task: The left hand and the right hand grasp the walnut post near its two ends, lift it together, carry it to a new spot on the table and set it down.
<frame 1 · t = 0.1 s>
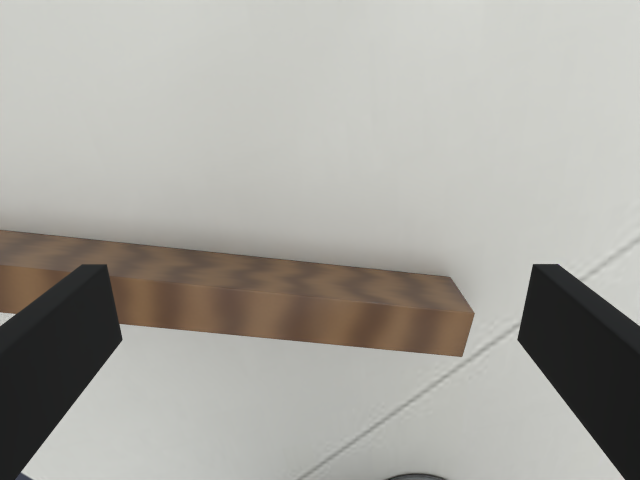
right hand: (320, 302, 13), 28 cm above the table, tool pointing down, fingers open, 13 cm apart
post: (200, 271, 43), on the table
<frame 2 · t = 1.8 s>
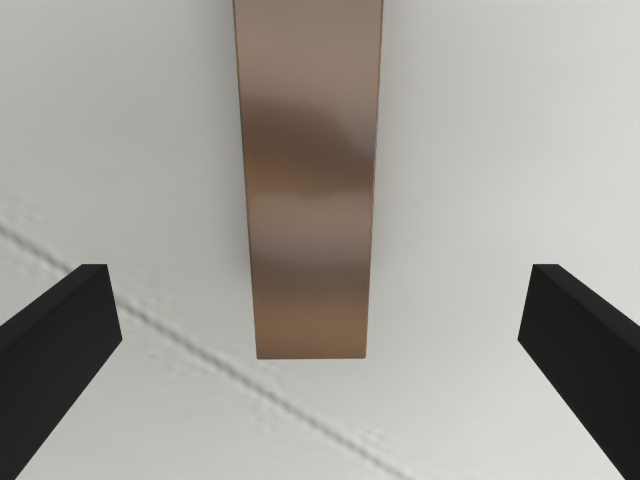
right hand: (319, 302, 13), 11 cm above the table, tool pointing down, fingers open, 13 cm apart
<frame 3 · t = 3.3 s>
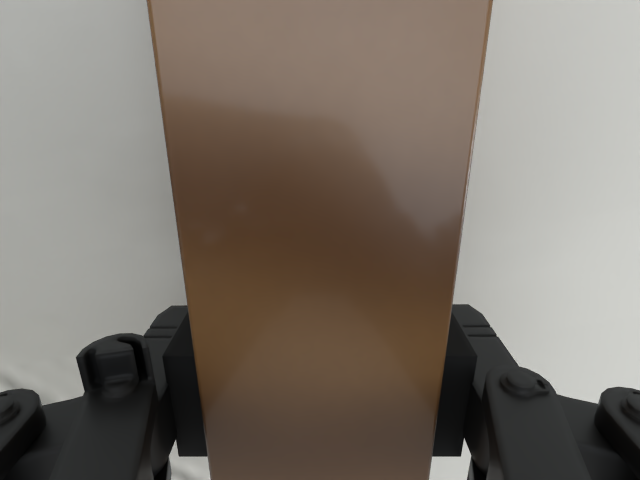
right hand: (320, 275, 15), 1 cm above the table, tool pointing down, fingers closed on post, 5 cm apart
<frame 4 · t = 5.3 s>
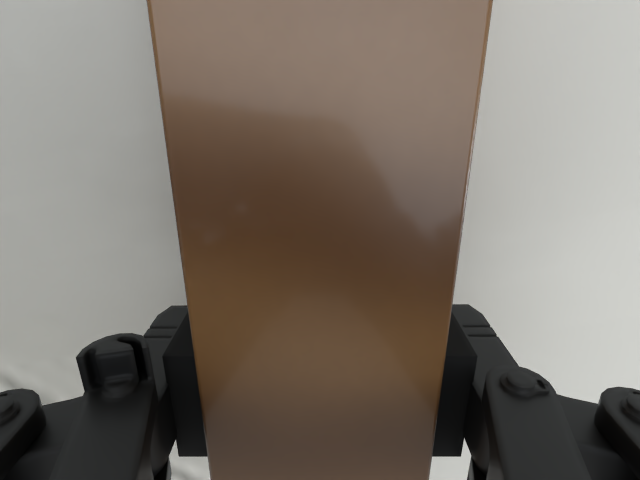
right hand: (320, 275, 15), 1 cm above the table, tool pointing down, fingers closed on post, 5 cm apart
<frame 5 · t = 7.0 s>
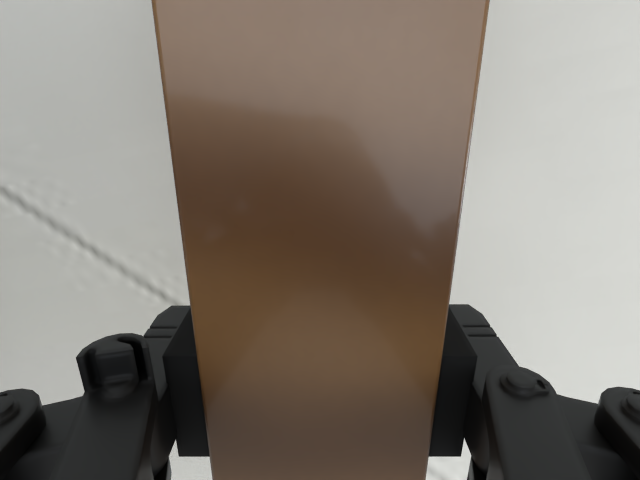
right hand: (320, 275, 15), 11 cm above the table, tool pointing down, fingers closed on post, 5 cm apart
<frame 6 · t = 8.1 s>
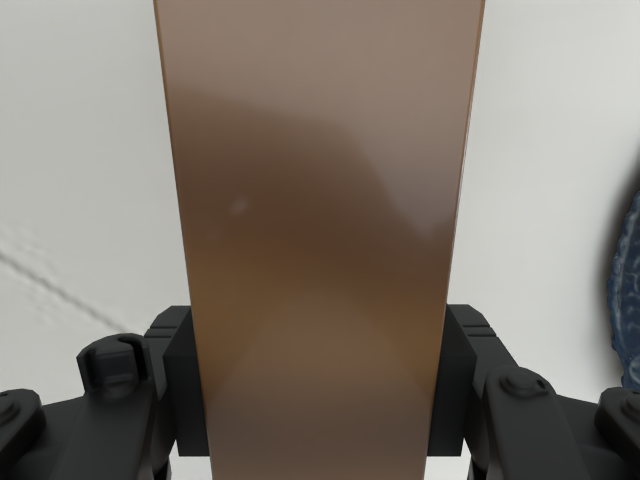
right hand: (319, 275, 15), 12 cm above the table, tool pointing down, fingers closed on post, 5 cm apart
when the right hand's fingers open (2 cm above the table, at t = 10.8 s): post moves 1 cm, on the table.
when the left hand's fingers open (4 cm above the table, at t = 10.9 s): post stays where it is, on the table.
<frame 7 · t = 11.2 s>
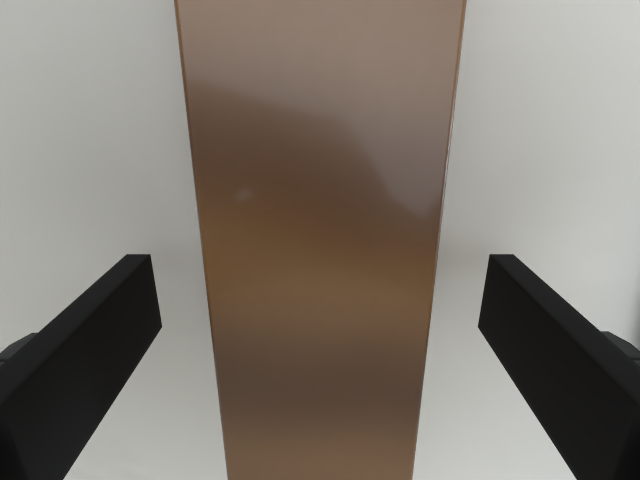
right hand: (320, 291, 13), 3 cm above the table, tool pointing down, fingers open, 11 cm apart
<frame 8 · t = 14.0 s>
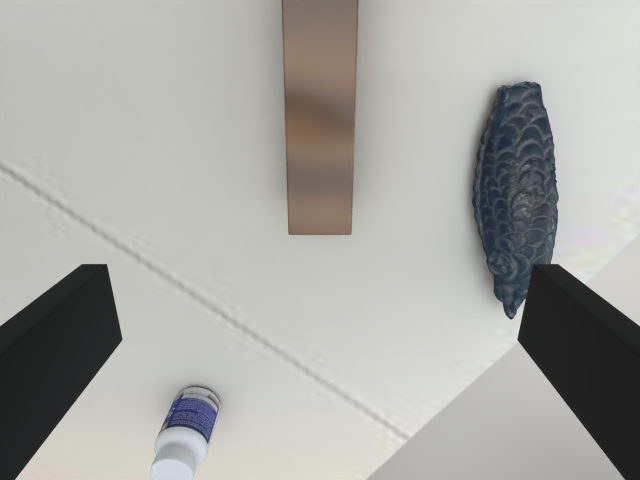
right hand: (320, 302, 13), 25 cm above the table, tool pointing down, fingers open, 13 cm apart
pill bottle: (198, 403, 46), on the table
fish model: (508, 201, 38), on the table
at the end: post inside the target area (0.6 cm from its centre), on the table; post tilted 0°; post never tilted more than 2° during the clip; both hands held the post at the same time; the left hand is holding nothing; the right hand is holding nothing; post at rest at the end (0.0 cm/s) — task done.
